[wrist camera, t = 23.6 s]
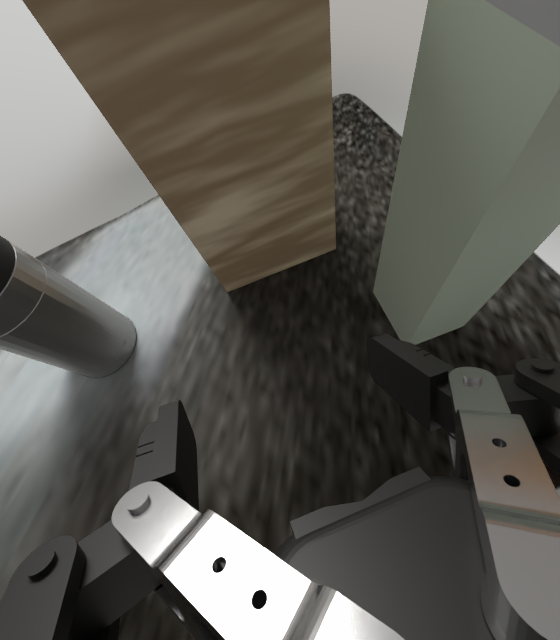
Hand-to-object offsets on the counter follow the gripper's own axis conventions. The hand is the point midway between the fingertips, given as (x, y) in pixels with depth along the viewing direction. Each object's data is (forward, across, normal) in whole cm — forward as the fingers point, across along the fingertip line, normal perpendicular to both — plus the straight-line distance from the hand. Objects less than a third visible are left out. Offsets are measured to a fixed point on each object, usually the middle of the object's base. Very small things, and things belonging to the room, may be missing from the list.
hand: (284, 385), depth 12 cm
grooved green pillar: (+18, +21, -8) cm, 29 cm away
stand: (+35, +8, +2) cm, 36 cm away
